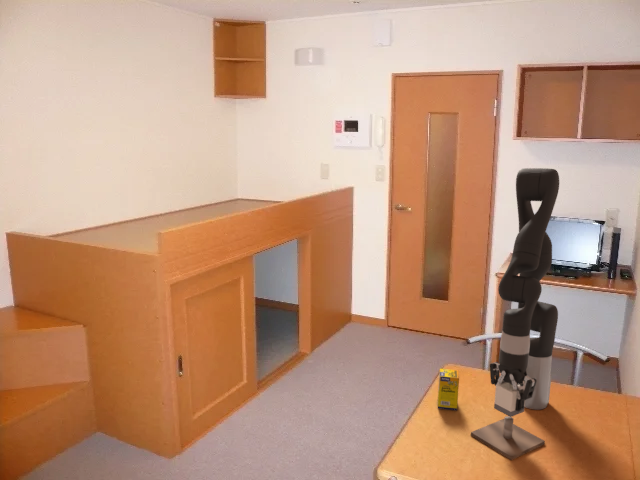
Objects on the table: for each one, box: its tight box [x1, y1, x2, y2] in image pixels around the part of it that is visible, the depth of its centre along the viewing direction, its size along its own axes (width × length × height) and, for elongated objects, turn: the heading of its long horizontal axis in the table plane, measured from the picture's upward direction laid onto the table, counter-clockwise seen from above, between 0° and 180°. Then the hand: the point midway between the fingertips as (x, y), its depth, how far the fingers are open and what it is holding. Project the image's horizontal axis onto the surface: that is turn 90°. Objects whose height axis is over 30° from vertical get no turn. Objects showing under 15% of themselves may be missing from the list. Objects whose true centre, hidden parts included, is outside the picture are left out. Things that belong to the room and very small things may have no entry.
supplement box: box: [437, 368, 460, 412], centre depth 174 cm, size 6×6×11 cm
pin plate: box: [470, 415, 546, 461], centre depth 155 cm, size 14×14×6 cm
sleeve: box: [493, 382, 526, 418], centre depth 153 cm, size 6×6×7 cm
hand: (509, 405), depth 154 cm, fingers closed on sleeve, 5 cm apart
